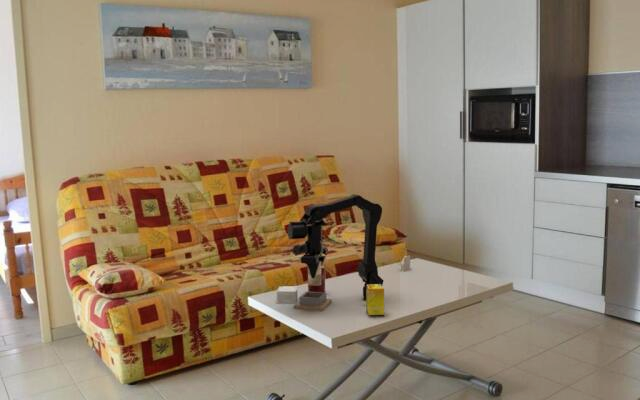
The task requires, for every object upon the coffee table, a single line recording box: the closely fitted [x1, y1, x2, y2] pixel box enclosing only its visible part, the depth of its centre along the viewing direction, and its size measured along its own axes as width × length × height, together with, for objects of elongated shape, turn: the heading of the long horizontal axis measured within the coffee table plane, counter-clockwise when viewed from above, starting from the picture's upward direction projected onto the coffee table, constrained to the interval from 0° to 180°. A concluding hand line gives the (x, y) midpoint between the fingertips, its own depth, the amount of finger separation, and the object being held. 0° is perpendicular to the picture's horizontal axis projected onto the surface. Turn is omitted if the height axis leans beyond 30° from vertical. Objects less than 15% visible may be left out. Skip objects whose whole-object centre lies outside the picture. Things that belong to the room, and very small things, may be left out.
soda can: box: [307, 264, 326, 293], centre depth 251 cm, size 7×7×12 cm
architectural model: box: [397, 255, 412, 273], centre depth 292 cm, size 3×7×7 cm, turn 141°
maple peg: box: [309, 261, 321, 286], centre depth 234 cm, size 5×5×9 cm
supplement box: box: [365, 284, 385, 318], centre depth 224 cm, size 6×6×11 cm
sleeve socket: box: [293, 290, 333, 312], centre depth 237 cm, size 12×12×4 cm
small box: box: [276, 285, 298, 304], centre depth 243 cm, size 8×8×5 cm
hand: (314, 276), depth 234 cm, fingers closed on maple peg, 5 cm apart
